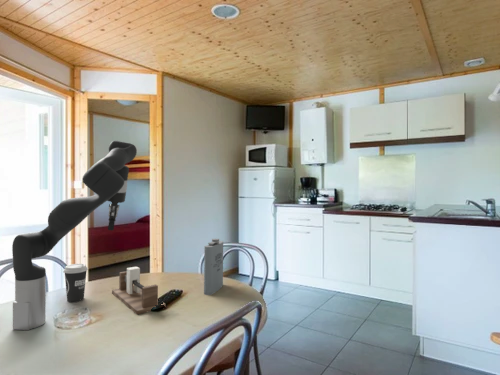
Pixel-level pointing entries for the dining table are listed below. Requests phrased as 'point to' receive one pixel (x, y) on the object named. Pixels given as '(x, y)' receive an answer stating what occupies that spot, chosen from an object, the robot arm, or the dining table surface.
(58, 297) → the dining table surface
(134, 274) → the white slider block
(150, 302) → the cord stand
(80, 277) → the coffee cup
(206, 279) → the flask
